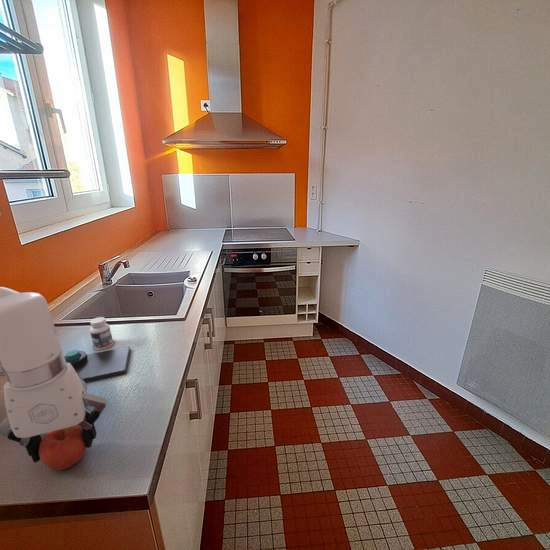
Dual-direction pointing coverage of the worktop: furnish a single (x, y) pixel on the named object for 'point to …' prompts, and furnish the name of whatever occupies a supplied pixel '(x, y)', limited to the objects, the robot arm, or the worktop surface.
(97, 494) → the worktop surface
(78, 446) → the apple
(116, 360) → the scale
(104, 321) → the pill bottle
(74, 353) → the tare button
